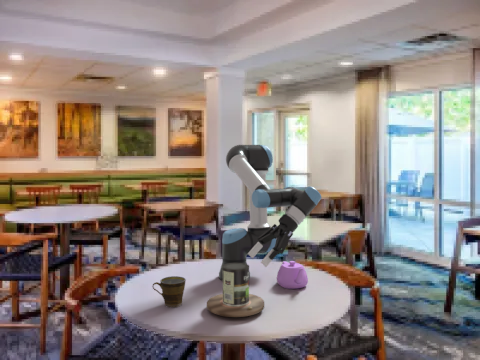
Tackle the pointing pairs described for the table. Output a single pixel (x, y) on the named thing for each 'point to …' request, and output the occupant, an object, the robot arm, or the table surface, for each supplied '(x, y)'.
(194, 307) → the table surface
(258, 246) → the robot arm
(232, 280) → the coffee can
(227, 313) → the turntable
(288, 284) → the teapot
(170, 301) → the ceramic cup
